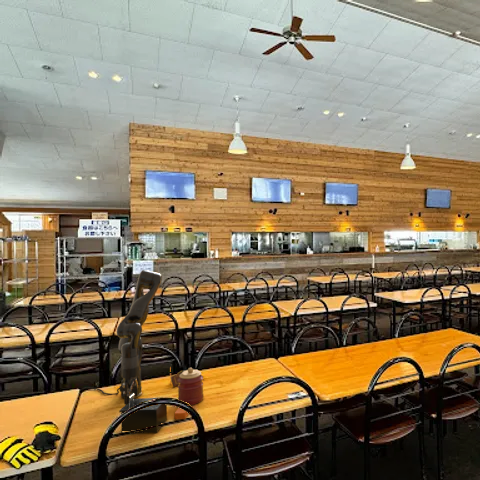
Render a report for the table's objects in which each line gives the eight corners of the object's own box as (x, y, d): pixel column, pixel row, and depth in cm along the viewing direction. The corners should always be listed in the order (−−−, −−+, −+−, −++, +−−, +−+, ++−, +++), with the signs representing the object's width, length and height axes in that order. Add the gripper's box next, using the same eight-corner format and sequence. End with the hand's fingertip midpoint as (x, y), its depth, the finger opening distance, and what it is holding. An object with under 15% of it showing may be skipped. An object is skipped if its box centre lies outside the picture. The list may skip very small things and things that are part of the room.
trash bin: (121, 434, 169) (121, 412, 169) (134, 420, 182) (133, 400, 182) (156, 432, 170) (156, 411, 170) (167, 419, 182) (166, 399, 182)
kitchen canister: (205, 394, 211) (204, 363, 210) (201, 404, 198) (200, 371, 198) (181, 396, 209) (180, 364, 209) (175, 406, 196) (174, 372, 196)
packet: (185, 419, 182) (185, 412, 182) (174, 419, 182) (174, 413, 182) (190, 411, 190) (190, 405, 190) (180, 411, 190) (180, 405, 190)
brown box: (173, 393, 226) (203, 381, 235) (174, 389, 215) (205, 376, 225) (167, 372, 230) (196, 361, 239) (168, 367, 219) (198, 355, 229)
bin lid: (119, 412, 169) (119, 400, 169) (132, 400, 182) (131, 389, 182) (156, 411, 170) (156, 399, 170) (166, 399, 182) (166, 388, 182)
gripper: (129, 360, 182) (129, 394, 182) (114, 371, 168) (115, 407, 168) (145, 360, 183) (145, 393, 183) (131, 370, 168) (132, 406, 169)
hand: (131, 400), depth 176 cm, fingers open, 8 cm apart
